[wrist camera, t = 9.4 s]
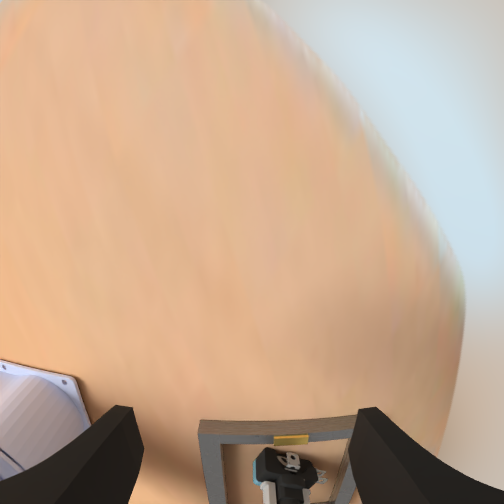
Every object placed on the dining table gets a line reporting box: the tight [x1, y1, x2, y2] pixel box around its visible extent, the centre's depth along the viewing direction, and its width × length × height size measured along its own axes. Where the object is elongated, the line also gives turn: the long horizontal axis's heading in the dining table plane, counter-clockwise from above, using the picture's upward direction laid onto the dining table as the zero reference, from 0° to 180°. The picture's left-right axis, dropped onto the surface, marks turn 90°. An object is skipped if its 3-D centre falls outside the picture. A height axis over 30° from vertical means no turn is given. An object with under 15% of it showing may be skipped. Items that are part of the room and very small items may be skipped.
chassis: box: [198, 415, 357, 504], centre depth 22 cm, size 13×14×2 cm
